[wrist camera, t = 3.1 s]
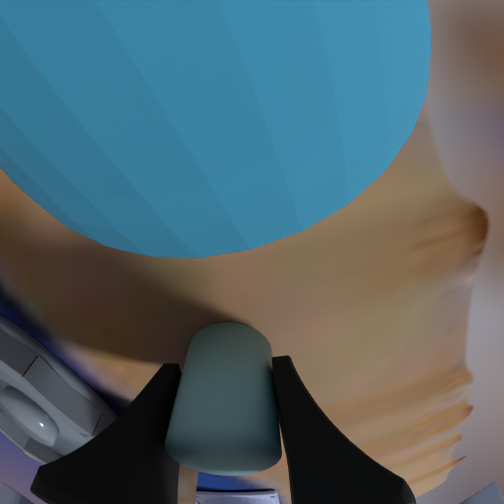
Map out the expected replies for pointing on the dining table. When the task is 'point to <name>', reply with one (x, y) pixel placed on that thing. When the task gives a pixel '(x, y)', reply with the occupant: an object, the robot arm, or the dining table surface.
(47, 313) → the dining table surface
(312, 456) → the robot arm
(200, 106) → the perfume bottle
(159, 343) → the dining table surface
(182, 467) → the bead walnut
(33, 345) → the tray
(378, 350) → the dining table surface
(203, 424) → the bead teal
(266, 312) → the dining table surface
